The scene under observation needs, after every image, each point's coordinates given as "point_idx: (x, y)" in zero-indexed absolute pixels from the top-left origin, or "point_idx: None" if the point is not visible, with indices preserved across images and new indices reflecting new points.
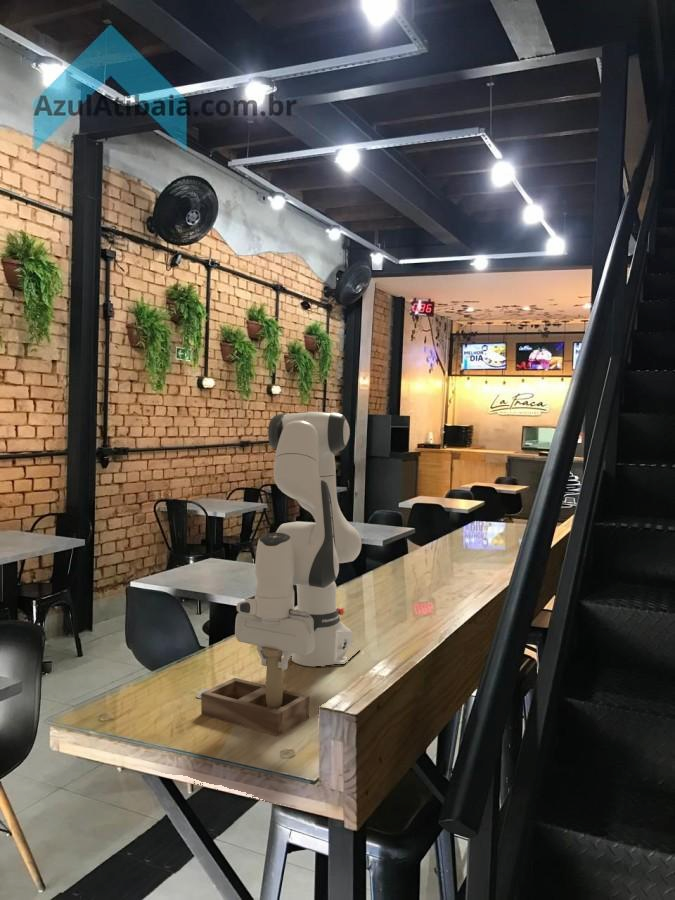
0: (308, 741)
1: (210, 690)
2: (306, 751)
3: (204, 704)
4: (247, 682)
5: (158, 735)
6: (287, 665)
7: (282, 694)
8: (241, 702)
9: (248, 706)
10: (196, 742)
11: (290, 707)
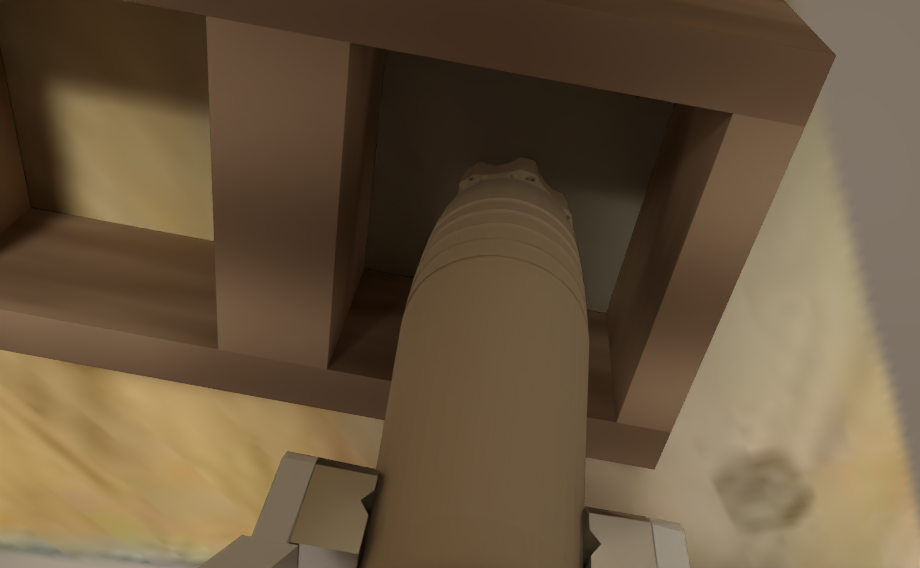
0: (857, 355)
1: None
2: (868, 454)
3: None
4: None
5: (49, 495)
6: (687, 553)
7: (582, 277)
8: (284, 384)
9: (372, 415)
10: (259, 506)
11: (707, 344)
